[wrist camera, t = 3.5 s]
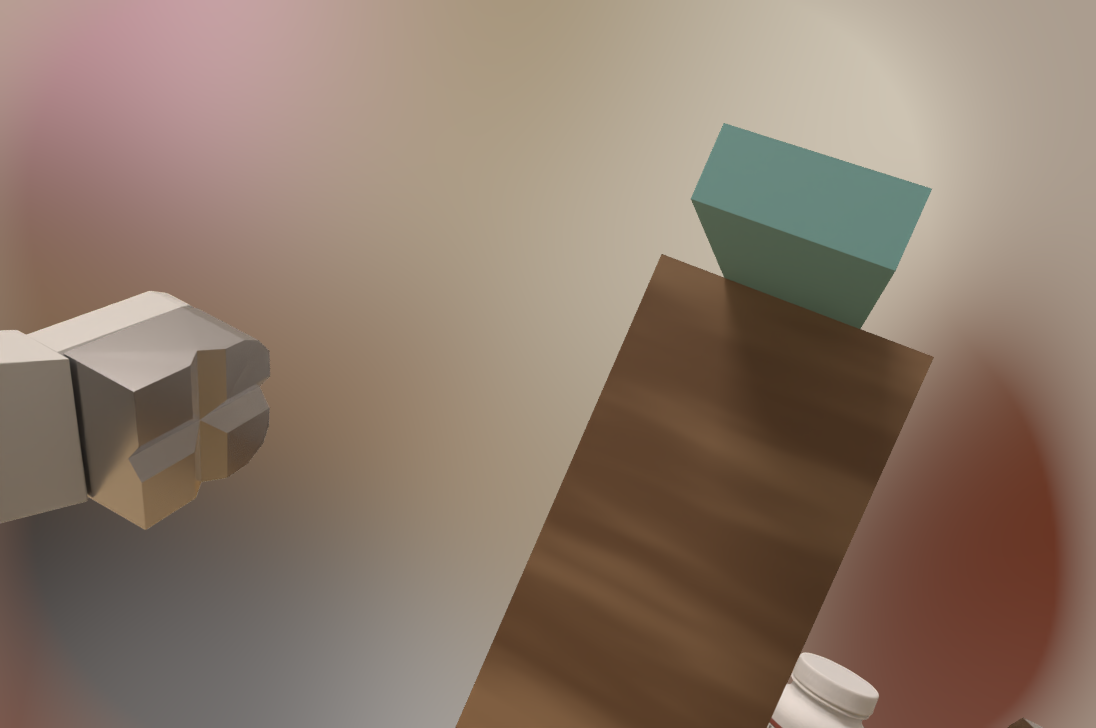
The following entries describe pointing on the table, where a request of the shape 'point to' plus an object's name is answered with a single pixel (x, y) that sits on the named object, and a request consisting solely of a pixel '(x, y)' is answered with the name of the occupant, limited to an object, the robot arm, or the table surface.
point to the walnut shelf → (698, 515)
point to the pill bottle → (823, 697)
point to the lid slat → (804, 223)
